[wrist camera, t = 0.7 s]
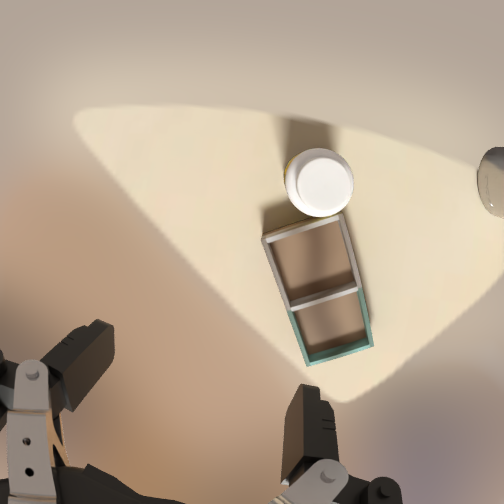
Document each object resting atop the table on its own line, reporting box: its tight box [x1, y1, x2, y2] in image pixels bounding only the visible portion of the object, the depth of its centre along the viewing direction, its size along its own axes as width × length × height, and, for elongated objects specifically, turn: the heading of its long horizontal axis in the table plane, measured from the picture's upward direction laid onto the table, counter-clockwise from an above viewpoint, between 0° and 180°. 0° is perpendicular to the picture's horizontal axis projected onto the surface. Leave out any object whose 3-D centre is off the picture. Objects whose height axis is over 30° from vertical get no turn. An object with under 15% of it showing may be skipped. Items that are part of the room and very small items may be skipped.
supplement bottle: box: [284, 148, 354, 217], centre depth 25 cm, size 6×6×10 cm
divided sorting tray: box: [261, 211, 374, 367], centre depth 32 cm, size 8×16×3 cm, turn 20°
